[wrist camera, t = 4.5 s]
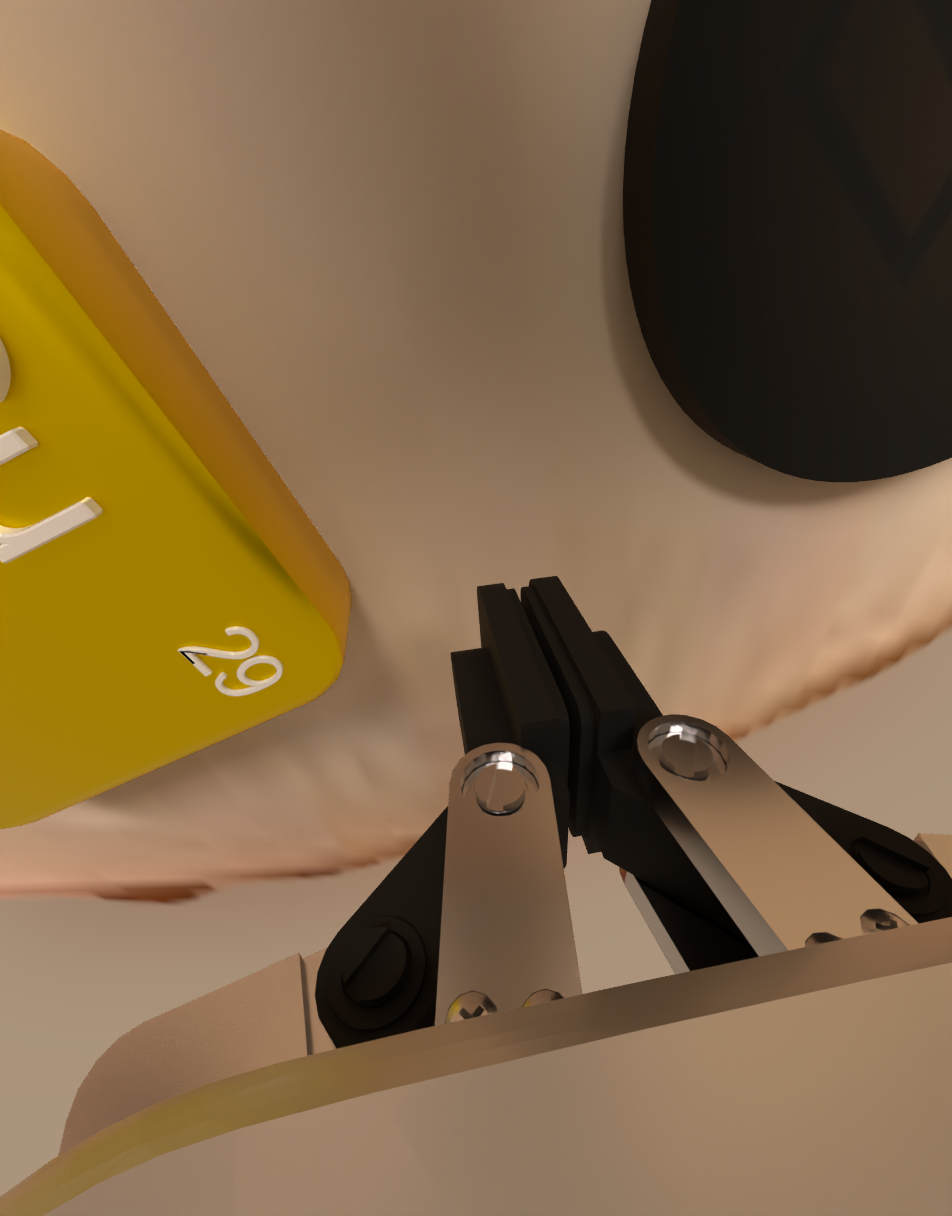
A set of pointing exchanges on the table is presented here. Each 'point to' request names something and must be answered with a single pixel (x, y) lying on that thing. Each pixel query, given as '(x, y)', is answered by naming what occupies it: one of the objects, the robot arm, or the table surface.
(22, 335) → the element tile
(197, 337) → the table surface
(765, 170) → the wireless charger
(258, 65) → the table surface
